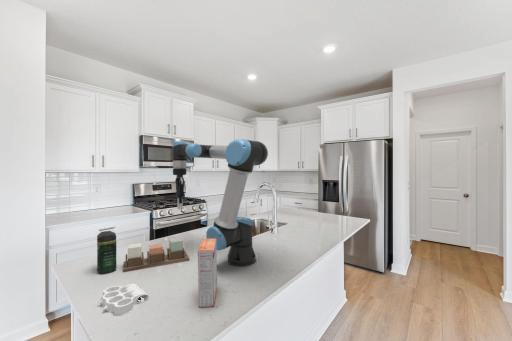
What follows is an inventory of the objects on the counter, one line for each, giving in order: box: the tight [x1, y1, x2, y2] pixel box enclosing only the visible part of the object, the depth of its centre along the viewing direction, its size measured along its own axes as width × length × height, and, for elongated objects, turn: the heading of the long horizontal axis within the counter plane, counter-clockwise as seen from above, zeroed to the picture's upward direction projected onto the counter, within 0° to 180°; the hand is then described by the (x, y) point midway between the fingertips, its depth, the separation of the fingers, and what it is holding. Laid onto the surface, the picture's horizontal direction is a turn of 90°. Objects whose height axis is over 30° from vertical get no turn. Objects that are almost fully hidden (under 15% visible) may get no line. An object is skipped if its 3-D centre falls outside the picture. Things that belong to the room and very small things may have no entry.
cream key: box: [127, 242, 142, 260], centre depth 121 cm, size 6×6×6 cm
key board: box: [122, 247, 190, 273], centre depth 126 cm, size 10×31×6 cm, turn 117°
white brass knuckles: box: [97, 283, 149, 316], centre depth 90 cm, size 3×18×15 cm
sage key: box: [168, 237, 184, 252], centre depth 130 cm, size 6×6×6 cm
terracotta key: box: [148, 243, 164, 255], centre depth 126 cm, size 6×6×6 cm
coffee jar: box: [96, 230, 117, 274], centre depth 117 cm, size 10×8×19 cm
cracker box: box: [197, 238, 218, 308], centre depth 93 cm, size 14×6×21 cm, turn 5°
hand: (180, 208), depth 139 cm, fingers closed
